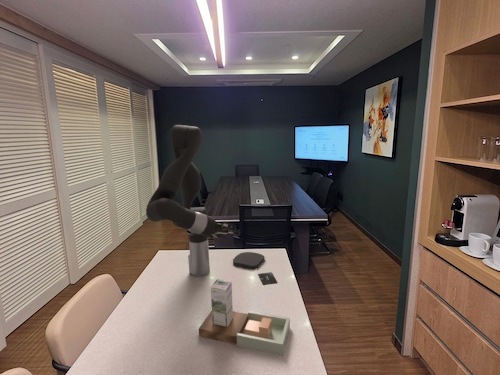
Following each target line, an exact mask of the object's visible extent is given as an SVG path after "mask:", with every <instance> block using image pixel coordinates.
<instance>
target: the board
mask: <svg viewBox="0 0 500 375" xmlns="http://www.w3.org/2000/svg"><path fill="white" fill-rule="evenodd" d="M247 323H248V313H243V312H239V311H233V319H232V320H231V322H230V324H229V325H228V327H223V326H218V325H213V321H212V309H211V310H210V312H209V313H208V315H207V316H206V317H205V319H204V321H203V322H202V323H201V325H200V326H199V327H198V337H199V338H205V339H209V340H213V341H217V342H218V341H220V342H223V343H227V344H228V343H229V344H232V345H236V346H237V333H240V334H242V333H243V331H244V329H245V327H246V325H247Z"/></svg>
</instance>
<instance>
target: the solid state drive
mask: <svg viewBox="0 0 500 375" xmlns="http://www.w3.org/2000/svg"><path fill="white" fill-rule="evenodd" d="M257 276H258V277H259V280H260V282H261V284H262V285H263V286H266V285H274V284H278V281H277V279H276V277H275V275H274V273H273V272H264V273H263V272H262V273H258V274H257Z"/></svg>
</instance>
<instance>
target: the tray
mask: <svg viewBox="0 0 500 375" xmlns="http://www.w3.org/2000/svg"><path fill="white" fill-rule="evenodd" d="M247 314H248V322H249V320H253V321H258V322H261V321H262V319H263V317H264V318H269V319H272V333H271V335H270V338H269V339H265V338H260V337H255V336H250V335H245V329H244V331H243V333H242V334H240V333H237V345H236V346H237V347H239V348H240V347H241V348H245V349H251V350H255V351H259V352H264V353H267V354H272V355H278V356H282V357H283V356H284V353H285V352H284V351H285V349H286V344H287V340H288V337H289V333H290V328H291V327H290V326H291V324H290V323H291V322H290V321H291V319H290V317H286V316H280V315H275V314H270V313H263V312H257V311H253V310H252V311H251V310H248V311H247Z"/></svg>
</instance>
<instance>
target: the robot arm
mask: <svg viewBox="0 0 500 375" xmlns="http://www.w3.org/2000/svg"><path fill="white" fill-rule="evenodd" d="M202 133H203V132H202V130H201V128H199V127H197V126H194V125H193V126H192V125H183V124H175V125H173V126H172V128H171V130H170V141H171V142H170V143H171V148H172V150H173V154H174V159H175V160H174V161H172V163H170V164H169V165H168V166H167V167H166V168H165V170H163V173H162V176H161V178H160V181H159V184H158V186H157V188H156V190H155V191H154V192H153V194H152V196H151V197H150V199H149V201H148V202H147V205H146V207H145V214H146V217H147V218H148V220H149V221H150V222H155V223H157V222H161V221H164V220H167V221H171V222H172V224H173V225H174V226H176V227H178V228H180V229H183V230H186V231H189V232H190V233H189V235H188V246H189V254H188V256H187V257H188V258H187V259H188V271H189V272H188V274H190V275H192V276H194V277H204V276H206V275H208V274H210V272H211V271H210V269H211V268H210V254H209V253H210V252H209V249H210V248H209V238H210V239H211V238H212V239H214V238H216V239H217V238H220V239H221V240H222V239H223V240H226V239H227V234H232V235H236V236H237V237H238V236H240V235H241V229H237V225H235V224H233V223H230V222H227V221H223V222H222V223H220V222H217V221H216V218H214V217H213V216H209V215H208V210H207V208H206V207H205V206H199V207H197V206H196V207H192V204H193V201H195V199H196V197H197V196H198V195H199V193H200V191H201V189H202V178H201V173H200V171H199V169H198V168H197V166H196V165H195V163H194V162H193V160H194V159H195V157H196V155H197V153H198V151H199V149H200V147H201V145H202V140H203V135H202ZM179 191H180V193H181V199H182V205H181V204H179V203H178V202H177V201H175V200H174V198H176V196H177V195H178V193H179Z"/></svg>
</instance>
